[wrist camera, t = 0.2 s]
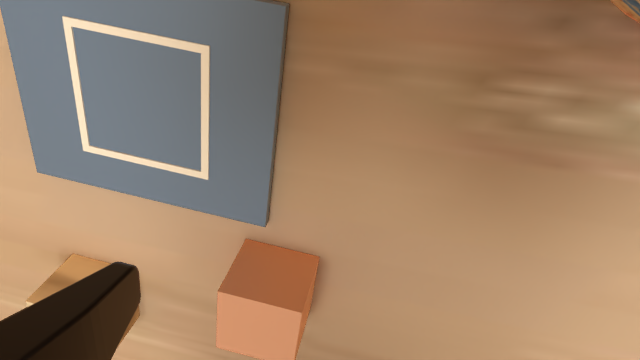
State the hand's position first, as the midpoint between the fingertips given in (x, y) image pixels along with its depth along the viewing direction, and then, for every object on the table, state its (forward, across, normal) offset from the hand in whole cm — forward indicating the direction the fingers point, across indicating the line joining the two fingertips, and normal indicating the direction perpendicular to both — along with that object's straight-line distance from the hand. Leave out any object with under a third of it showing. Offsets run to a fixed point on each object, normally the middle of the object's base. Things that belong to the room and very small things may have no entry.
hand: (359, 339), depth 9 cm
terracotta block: (+15, +4, +14) cm, 21 cm away
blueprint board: (+15, +12, +4) cm, 20 cm away
